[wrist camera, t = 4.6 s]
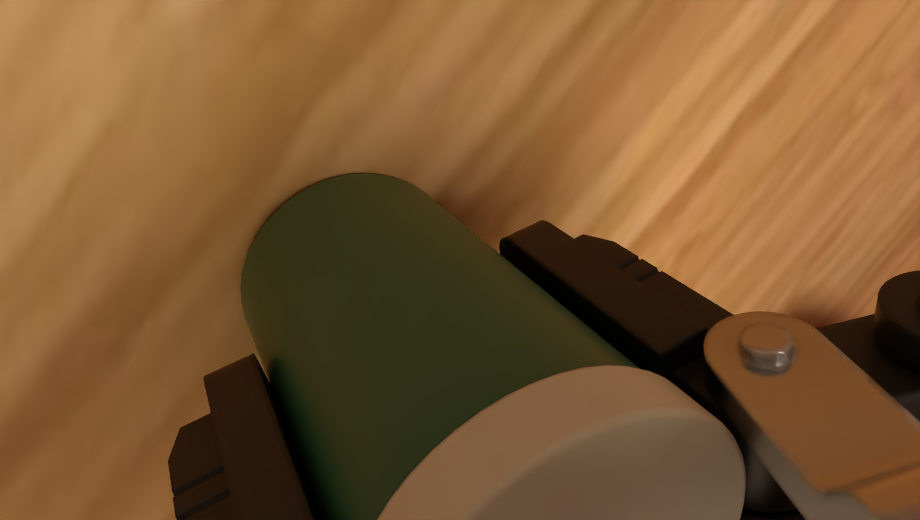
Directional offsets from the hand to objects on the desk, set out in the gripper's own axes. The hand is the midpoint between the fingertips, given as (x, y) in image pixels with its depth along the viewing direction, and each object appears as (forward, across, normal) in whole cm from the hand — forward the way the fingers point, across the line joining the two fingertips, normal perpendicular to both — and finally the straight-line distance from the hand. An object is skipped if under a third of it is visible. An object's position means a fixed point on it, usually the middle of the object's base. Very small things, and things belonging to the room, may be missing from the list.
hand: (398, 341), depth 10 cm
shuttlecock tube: (+2, 0, 0) cm, 2 cm away
